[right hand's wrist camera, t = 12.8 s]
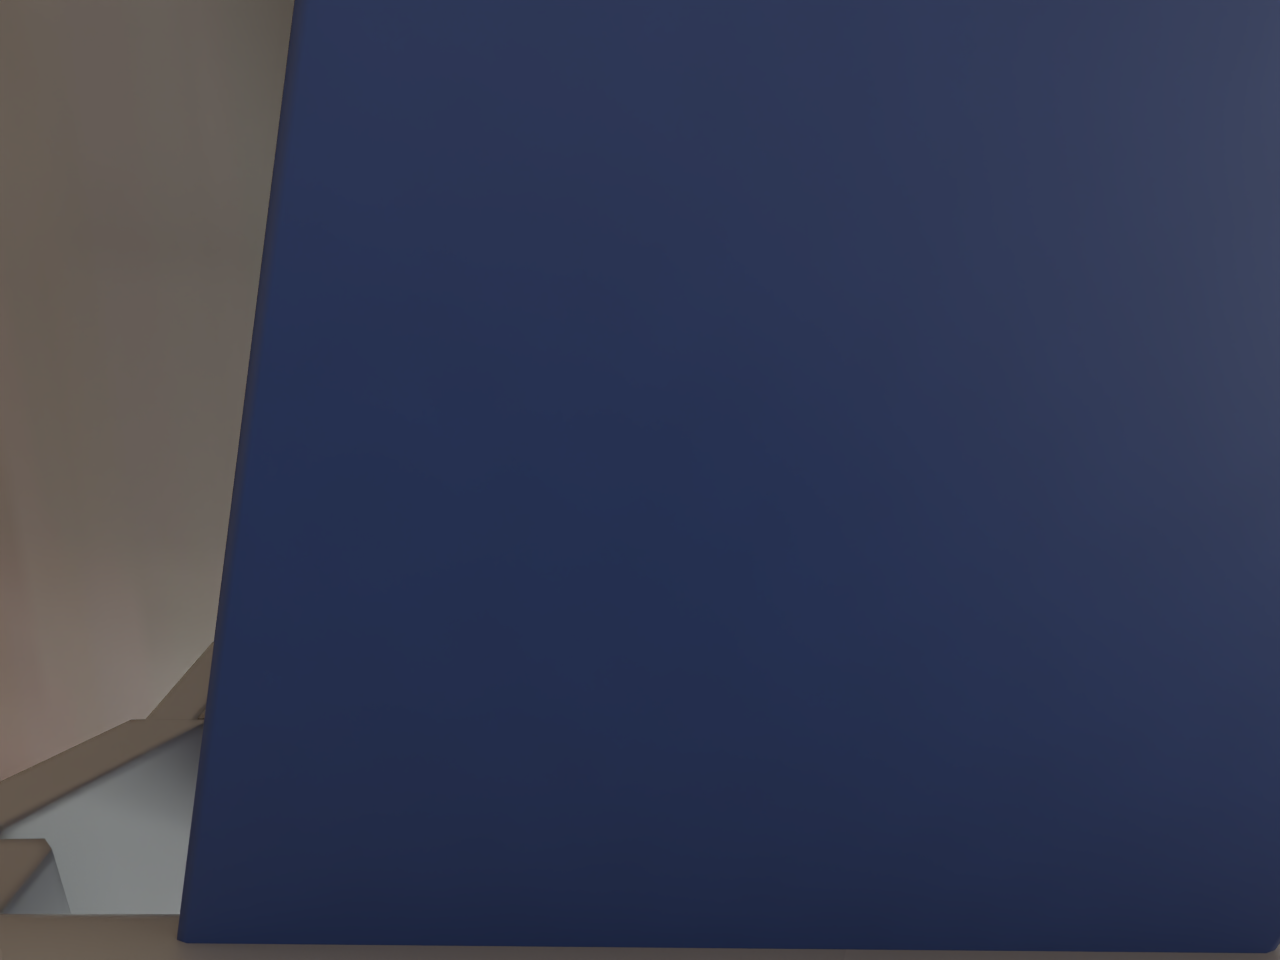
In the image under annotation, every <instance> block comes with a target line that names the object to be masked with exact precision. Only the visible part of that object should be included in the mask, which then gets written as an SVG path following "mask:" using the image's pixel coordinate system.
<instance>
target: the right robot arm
mask: <svg viewBox="0 0 1280 960" xmlns="http://www.w3.org/2000/svg"><path fill="white" fill-rule="evenodd" d="M213 646H214V642H213V643H212V644H211V645H210V646H209V647H208V648H207V649H206V650H205V652H204V653H203V654H202V655H201V656H200V657H199V658H198V660H197V661H196V662H195V663H194V664H193V665H192V667H191V668H190V669H189V670H188V671H187V672H186V673H185V675H184V676H183V677H182V678H181V679H180V680H179V681H178V683H177V684H176V685H175V686H174V687H173V688H172V690H171V691H170V692H169V693H168V694H167V695H166V696H165V698H164V699H163V700H162V701H161V702H160V703H159V705H158V706H157V707H156V708H155V709H154V710H153V711H152V713H151V714H150V715H149V716H148V717H147V718H146V719H141V720H129V721H127V722H125V723H123V724H121V725H119V726H117V727H115V728H113V729H110V730H108V731H106V732H104V733H102V734H100V735H98V736H96V737H94V738H91V739H89V740H87V741H85V742H83V743H81V744H79V745H77V746H75V747H72V748H70V749H68V750H66V751H64V752H62V753H60V754H58V755H56V756H53V757H51V758H49V759H47V760H45V761H43V762H41V763H39V764H37V765H34V766H32V767H30V768H28V769H26V770H24V771H22V772H20V773H18V774H15V775H13V776H11V777H9V778H7V779H5V780H3V781H1V782H0V960H1280V944H1279V945H1278V947H1277V948H1276V949H1275V950H1274V951H1271V952H1268V953H1177V952H1069V951H961V950H852V949H745V948H637V947H530V946H423V945H315V944H208V943H184V942H182V941H179V940H177V932H178V924H179V916H180V908H181V900H182V892H183V884H184V876H185V868H186V860H187V852H188V845H189V837H190V829H191V821H192V813H193V805H194V797H195V789H196V781H197V773H198V765H199V757H200V749H201V741H202V733H203V725H204V717H205V709H206V701H207V693H208V685H209V677H210V669H211V662H212V654H213Z"/></svg>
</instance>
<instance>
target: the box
mask: <svg viewBox="0 0 1280 960" xmlns="http://www.w3.org/2000/svg"><path fill="white" fill-rule="evenodd" d="M177 940H179V941H182V942H184V943H208V944H315V945H423V946H530V947H637V948H745V949H852V950H961V951H1069V952H1177V953H1268V952H1271V951H1274V950H1275V949H1276V948H1277V947H1278V945H1279V944H1280V0H295V1H294V9H293V17H292V25H291V33H290V41H289V49H288V57H287V65H286V73H285V81H284V89H283V97H282V105H281V113H280V121H279V129H278V136H277V144H276V152H275V160H274V168H273V176H272V184H271V192H270V200H269V208H268V216H267V224H266V232H265V240H264V248H263V256H262V264H261V272H260V280H259V288H258V296H257V304H256V311H255V319H254V327H253V335H252V343H251V351H250V359H249V367H248V375H247V383H246V391H245V399H244V407H243V415H242V423H241V431H240V439H239V447H238V455H237V463H236V471H235V479H234V487H233V494H232V502H231V510H230V518H229V526H228V534H227V542H226V550H225V558H224V566H223V574H222V582H221V590H220V598H219V606H218V614H217V622H216V630H215V638H214V646H213V654H212V662H211V669H210V677H209V685H208V693H207V701H206V709H205V717H204V725H203V733H202V741H201V749H200V757H199V765H198V773H197V781H196V789H195V797H194V805H193V813H192V821H191V829H190V837H189V845H188V852H187V860H186V868H185V876H184V884H183V892H182V900H181V908H180V916H179V924H178V932H177Z"/></svg>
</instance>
